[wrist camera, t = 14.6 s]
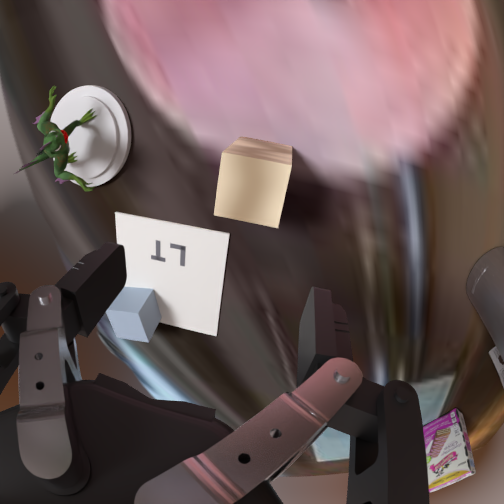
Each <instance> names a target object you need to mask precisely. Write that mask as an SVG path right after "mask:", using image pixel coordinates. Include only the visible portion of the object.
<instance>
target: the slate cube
mask: <svg viewBox="0 0 504 504" xmlns="http://www.w3.org/2000/svg"><path fill="white" fill-rule="evenodd" d="M106 313H107V315H108V318H109V320H110V322H111V325H112V327H113V329H114V332H115V334H116V336H117V337H118V338H124V339H130V340H136V341H143V342H149V341H150V339H151V337H152V335H153V333H154V331H155V329H156V327H157V325H158V324H159V322H160V320H161V318H162V317H161V314H160V310H159V307H158V304H157V300H156V297H155V293H154V290H153V289H150V288H136V287H124V288H123V289H122V291H121V292H120V293H119V295H118V296H117V297H116V299H115V300H114V301H113V303H112V304H111V305H110V307H109V308H108V309H107V311H106Z"/></svg>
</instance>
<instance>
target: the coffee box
mask: <svg viewBox="0 0 504 504" xmlns="http://www.w3.org/2000/svg"><path fill="white" fill-rule="evenodd" d="M489 355H490V357H491V359H492V362H493V364H494V366H495V368H496V371H497V373H498V375H499V378H500V380H501V382H502V385H503V387H504V361H503V359H502V357H501V355H500V353H499V351H498V349H497V347H496V346H495V347H494V348H493V349H491V350H490V351H489Z"/></svg>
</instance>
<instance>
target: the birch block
mask: <svg viewBox="0 0 504 504" xmlns="http://www.w3.org/2000/svg"><path fill="white" fill-rule="evenodd" d="M291 167H292V146H288V145H284V144H279V143H274V142H269V141H263V140H258V139H253V138H247V137H239V138H238V139H237V140H236V141H235V142H233V143H232V144H231V145H230V146H229V147H228V148H227V149H225V150H224V151H223V152H222V157H221V164H220V172H219V179H218V187H217V194H216V202H215V210H214V215H216V216H221V217H226V218H231V219H236V220H241V221H246V222H251V223H256V224H260V225H265V226H270V227H275V228H278V225H279V221H280V217H281V212H282V208H283V203H284V199H285V194H286V190H287V185H288V181H289V176H290V172H291Z"/></svg>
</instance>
